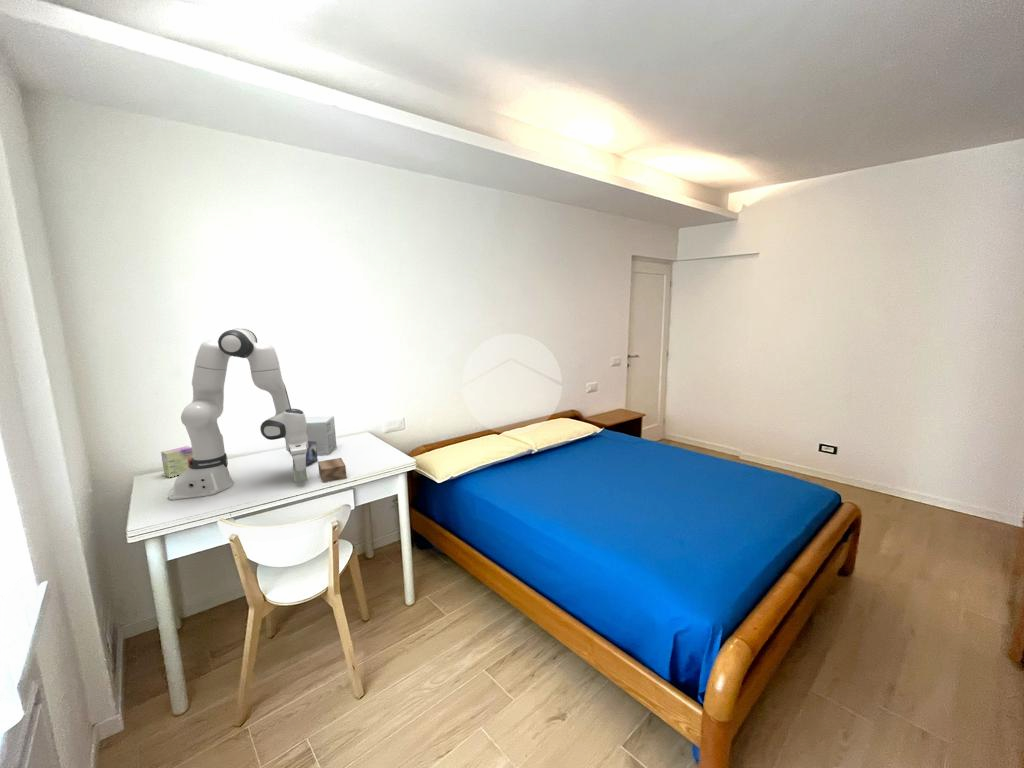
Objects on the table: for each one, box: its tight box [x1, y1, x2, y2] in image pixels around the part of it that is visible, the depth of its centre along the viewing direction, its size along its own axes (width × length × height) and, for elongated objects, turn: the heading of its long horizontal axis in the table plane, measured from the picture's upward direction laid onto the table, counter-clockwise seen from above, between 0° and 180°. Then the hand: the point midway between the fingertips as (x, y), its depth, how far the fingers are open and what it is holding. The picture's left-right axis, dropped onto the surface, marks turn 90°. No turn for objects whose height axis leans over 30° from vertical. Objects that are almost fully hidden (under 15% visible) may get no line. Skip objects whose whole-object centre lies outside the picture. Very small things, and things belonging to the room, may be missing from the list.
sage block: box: [292, 466, 308, 483], centre depth 190 cm, size 5×5×6 cm
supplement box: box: [305, 415, 338, 456], centre depth 227 cm, size 17×13×18 cm
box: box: [160, 445, 193, 479], centre depth 198 cm, size 10×6×12 cm, turn 149°
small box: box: [292, 441, 319, 468], centre depth 209 cm, size 11×6×10 cm, turn 168°
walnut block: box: [317, 457, 347, 483], centre depth 194 cm, size 10×12×6 cm
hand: (300, 474), depth 190 cm, fingers closed on sage block, 5 cm apart
